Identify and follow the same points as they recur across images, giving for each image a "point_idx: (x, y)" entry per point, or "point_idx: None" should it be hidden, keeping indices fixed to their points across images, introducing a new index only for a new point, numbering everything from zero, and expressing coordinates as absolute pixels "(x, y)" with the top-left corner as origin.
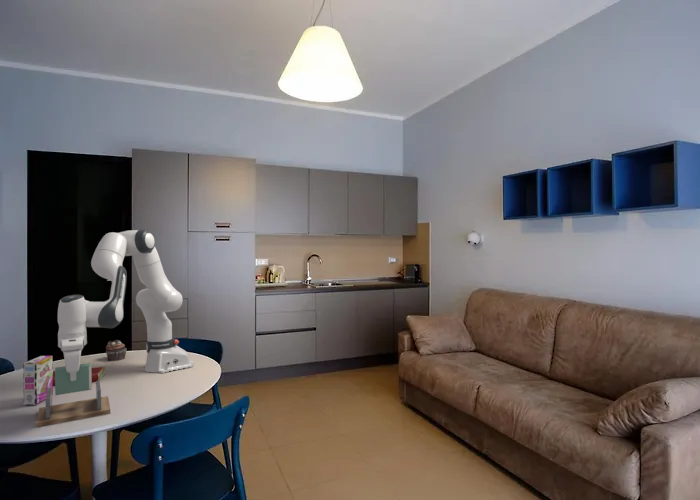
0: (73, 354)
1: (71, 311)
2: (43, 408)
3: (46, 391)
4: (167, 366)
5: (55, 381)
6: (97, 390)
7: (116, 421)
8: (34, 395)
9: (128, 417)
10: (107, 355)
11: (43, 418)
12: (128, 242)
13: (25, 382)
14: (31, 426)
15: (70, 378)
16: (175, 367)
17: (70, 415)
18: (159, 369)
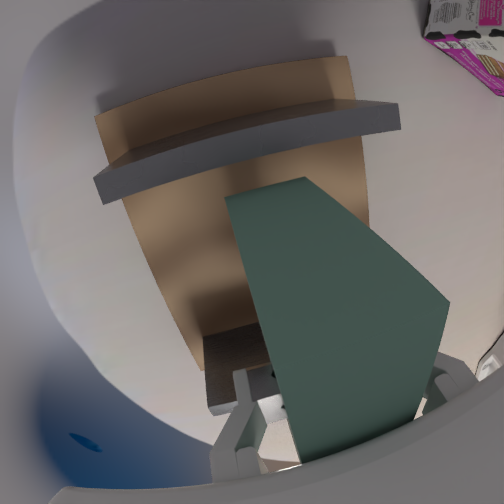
0: None
1: None
2: (326, 77)
3: (495, 77)
4: (492, 370)
5: (241, 256)
6: (218, 406)
7: (124, 383)
8: (455, 29)
9: (153, 402)
10: None
11: (152, 127)
12: None
13: None
14: (125, 85)
15: (235, 387)
16: (483, 377)
17: (163, 250)
18: (493, 357)
